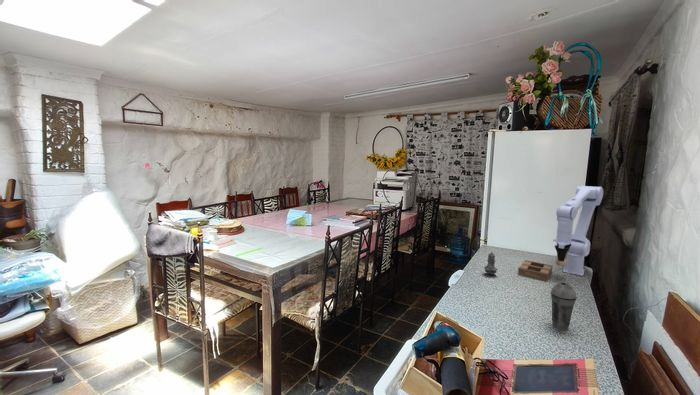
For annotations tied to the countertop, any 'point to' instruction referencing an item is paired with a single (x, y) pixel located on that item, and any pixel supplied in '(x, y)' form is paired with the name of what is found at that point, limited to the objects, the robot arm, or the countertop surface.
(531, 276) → the block
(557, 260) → the beech pin
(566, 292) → the beverage cup
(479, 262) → the countertop surface
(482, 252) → the countertop surface
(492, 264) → the grey chess piece
